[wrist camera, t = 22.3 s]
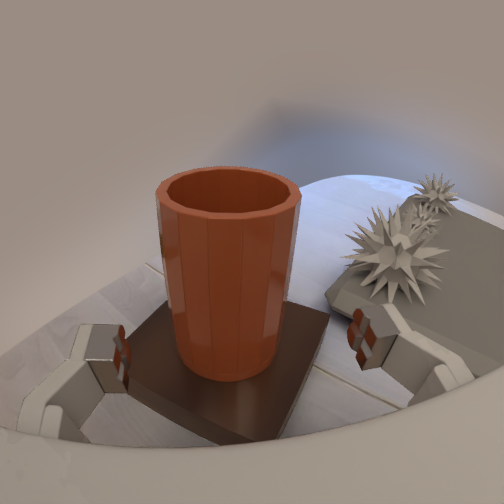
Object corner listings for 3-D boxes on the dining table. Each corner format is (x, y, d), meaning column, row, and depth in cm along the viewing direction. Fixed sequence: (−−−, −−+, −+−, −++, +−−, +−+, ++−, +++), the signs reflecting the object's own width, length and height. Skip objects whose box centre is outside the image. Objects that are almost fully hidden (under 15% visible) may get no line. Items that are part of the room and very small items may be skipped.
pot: (193, 395, 15) (172, 230, 10) (166, 318, 20) (147, 174, 15) (296, 361, 18) (329, 206, 13) (252, 298, 23) (261, 162, 17)
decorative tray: (547, 427, 13) (620, 343, 7) (306, 314, 26) (327, 204, 20) (528, 258, 36) (548, 205, 31) (403, 203, 50) (415, 149, 44)
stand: (116, 386, 18) (103, 359, 17) (200, 298, 27) (198, 270, 25) (265, 465, 15) (270, 447, 13) (322, 341, 23) (330, 314, 22)
